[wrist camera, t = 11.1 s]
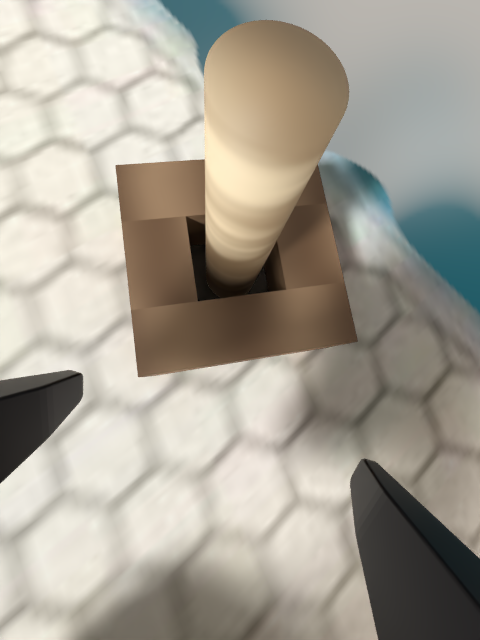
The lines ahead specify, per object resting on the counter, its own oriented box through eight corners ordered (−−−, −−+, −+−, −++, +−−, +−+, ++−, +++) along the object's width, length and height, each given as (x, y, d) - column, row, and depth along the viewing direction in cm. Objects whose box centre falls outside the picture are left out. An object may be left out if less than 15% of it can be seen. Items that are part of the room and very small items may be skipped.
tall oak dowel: (227, 309, 20) (274, 173, 6) (195, 272, 20) (172, 62, 6) (264, 279, 21) (377, 96, 7) (232, 243, 21) (282, -1, 7)
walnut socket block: (152, 376, 19) (138, 377, 15) (132, 204, 20) (115, 165, 17) (328, 347, 20) (357, 341, 16) (295, 191, 22) (314, 152, 18)
